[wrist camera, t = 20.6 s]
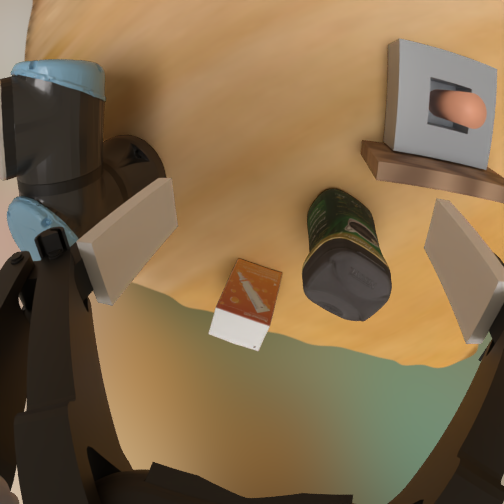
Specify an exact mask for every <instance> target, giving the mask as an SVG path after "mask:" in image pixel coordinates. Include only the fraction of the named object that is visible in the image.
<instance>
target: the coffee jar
mask: <svg viewBox="0 0 504 504" xmlns="http://www.w3.org/2000/svg"><path fill="white" fill-rule="evenodd" d="M307 226H308V235H309V251H310V253H309V254H308V256H307V258H306V260H305V262H304V265H303V268H302V279H303V289H304V293H305V295H306V296H307V297H308V299H310V300H311V301H312V302H314V303H315V304H317V305H319V306H320V307H322V308H323V309H325V310H327V311H329V312H331V313H333V314H335V315H337V316H339V317H341V318H343V319H347V320H351V321H365V320H367V319H368V318H370V317H371V316H372V315H373V314H375V313H376V312H377V311H378V310H379V309H380V308H381V307H382V306H383V305H384V304H385V303H386V302H387V301H388V299H389V296H390V293H391V288H392V283H391V273H390V269H389V267H388V265H387V263H386V261H385V259H384V257H383V255H382V253H381V250H380V247H379V243H378V239H377V235H376V230H375V225H374V220H373V217H372V214H371V213H370V211H369V210H368V209H367V208H366V207H365V206H364V205H363V204H362V203H360V202H359V201H358V200H356V199H355V198H353V197H352V196H350V195H349V194H347V193H345V192H343V191H341V190H338V189H329V190H326V191H324V192H323V193H321V194H320V195H319V196H318V197H317V199H316V200H315V201H314V203H313V204H312V205H311V207H310V209H309V211H308V215H307Z"/></svg>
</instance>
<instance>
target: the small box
mask: <svg viewBox="0 0 504 504" xmlns="http://www.w3.org/2000/svg"><path fill="white" fill-rule="evenodd" d="M281 277H282V273H281V272H277V271H274V270H271V269H268V268H265V267H262V266H259V265H256V264H253V263H251V262H248V261H245V260H242V259H240V258H238V260H237V262H236V264H235V266H234V268H233V270H232V273H231V275H230V277H229V279H228V281H227V284H226V286H225V288H224V290H223V292H222V294H221V297H220V299H219V301H218V303H217V306H216V308H215V312H214V315H213V319H212V322H211V326H210V329H209V334H210V335H213V336H215V337H218V338H220V339H223V340H226V341H228V342H231V343H234V344H237V345H241V346H244V347H247V348H250V349H253V350H256V351H259V349H260V346H261V344H262V342H263V339H264V337H265V335H266V333H267V331H268V329H269V327H270V324H271V320H272V316H273V312H274V308H275V304H276V299H277V295H278V291H279V287H280V282H281Z"/></svg>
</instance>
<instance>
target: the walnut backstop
mask: <svg viewBox="0 0 504 504" xmlns="http://www.w3.org/2000/svg"><path fill="white" fill-rule="evenodd" d="M361 155H362V157H363V158H364V160H365V162H366V163H367V165H368V167H369V168H370V170H371V172H372V173H373V175H374V177H375V179H376V180H380V181H387V182H394V183H401V184H408V185H414V186H420V187H426V188H432V189H438V190H443V191H448V192H454V193H459V194H464V195H469V196H473V197H478V198H483V199H487V200H492V201H496V202H500V203H504V178H503V177H502V176H500V175H499V174H497V173H496V172H494V171H493V170H491V169H490V168H488V167H487V169H486V170H484V169H480V168H476V167H472V166H468V165H464V164H460V163H456V162H451V161H447V160H442V159H437V158H432V157H427V156H422V155H416V154H411V153H405V152H399V151H393V150H392V149H391V148H390V147H389V146H388V145H387V144H386V143H379V142H372V141H364V140H362V148H361Z"/></svg>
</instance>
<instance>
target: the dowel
mask: <svg viewBox="0 0 504 504" xmlns="http://www.w3.org/2000/svg"><path fill="white" fill-rule="evenodd" d="M429 111H430V112H431V113H432V114H433V115H434V116H436V117H439V118H442V119H445V120H448V121H451V122H454V123H457V124H460V125H463V126H466V127H468V128H471V129H477V128H480V127H481V126H482V125H483V124H484V122H485V120H486V116H487V110H486V106H485V104H484V102H483V100H482V99H481V98H480V97H479V96H478V95H476V94H474V93H470V92H461V91H452V90H440V89H435V90H432V91H431V92H430V97H429Z"/></svg>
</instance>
